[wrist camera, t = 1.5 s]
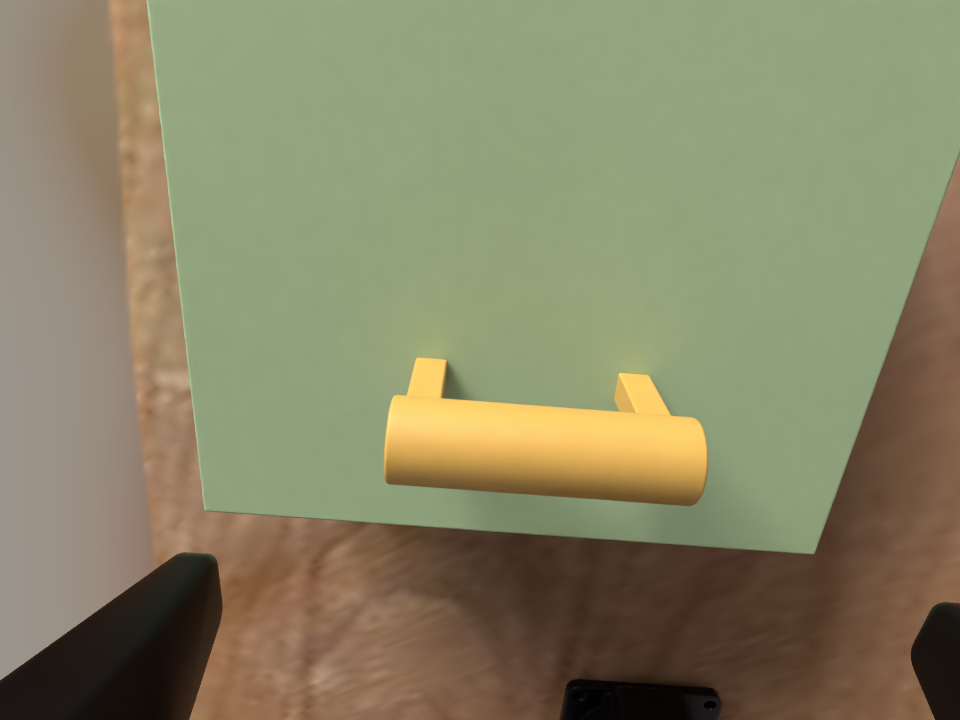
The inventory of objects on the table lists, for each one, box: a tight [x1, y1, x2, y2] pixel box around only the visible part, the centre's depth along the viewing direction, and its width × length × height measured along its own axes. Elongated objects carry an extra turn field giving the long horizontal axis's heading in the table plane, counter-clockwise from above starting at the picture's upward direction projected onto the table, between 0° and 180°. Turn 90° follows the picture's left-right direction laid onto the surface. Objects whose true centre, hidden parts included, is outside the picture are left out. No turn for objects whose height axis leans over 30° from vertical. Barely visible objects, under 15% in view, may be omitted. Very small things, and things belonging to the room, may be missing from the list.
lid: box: [147, 0, 960, 554], centre depth 12 cm, size 12×15×4 cm
